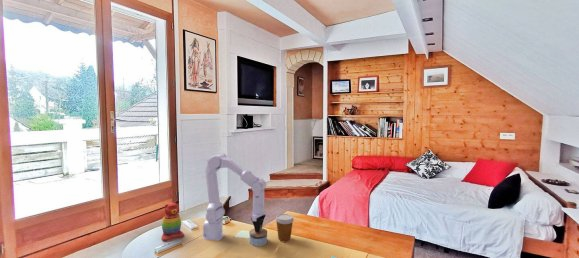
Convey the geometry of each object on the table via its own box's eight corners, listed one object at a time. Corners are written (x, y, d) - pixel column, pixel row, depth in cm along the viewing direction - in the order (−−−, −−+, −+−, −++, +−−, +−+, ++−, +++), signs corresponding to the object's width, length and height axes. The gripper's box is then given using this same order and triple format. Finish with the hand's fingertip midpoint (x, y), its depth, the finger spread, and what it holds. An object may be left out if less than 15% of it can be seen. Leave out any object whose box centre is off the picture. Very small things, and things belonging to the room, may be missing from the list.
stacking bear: (163, 242, 137) (163, 207, 136) (158, 235, 145) (158, 202, 144) (185, 237, 144) (185, 203, 143) (179, 230, 152) (179, 199, 151)
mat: (234, 238, 143) (234, 236, 143) (240, 231, 152) (240, 230, 152) (250, 239, 141) (250, 238, 141) (256, 232, 150) (256, 231, 150)
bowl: (247, 246, 135) (247, 238, 134) (252, 238, 143) (253, 230, 143) (264, 247, 133) (264, 239, 133) (269, 240, 141) (269, 232, 141)
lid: (246, 236, 135) (246, 227, 135) (253, 228, 143) (253, 220, 143) (263, 238, 132) (263, 229, 132) (269, 230, 141) (269, 222, 141)
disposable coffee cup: (291, 244, 137) (291, 221, 136) (273, 242, 139) (273, 219, 138) (294, 236, 146) (295, 214, 146) (277, 234, 148) (278, 212, 148)
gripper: (262, 209, 129) (261, 237, 130) (270, 200, 143) (269, 225, 144) (247, 207, 131) (247, 235, 131) (257, 199, 145) (257, 224, 145)
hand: (258, 230), depth 138 cm, fingers closed on lid, 3 cm apart
